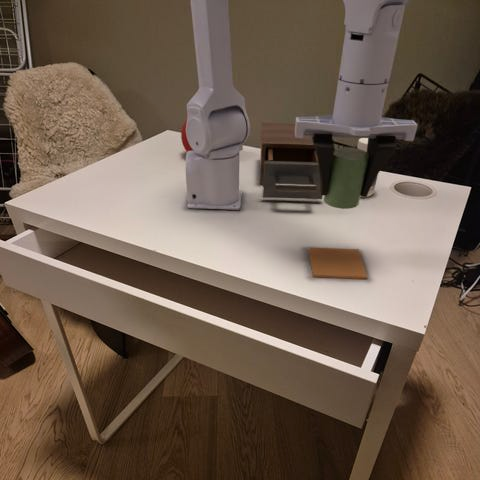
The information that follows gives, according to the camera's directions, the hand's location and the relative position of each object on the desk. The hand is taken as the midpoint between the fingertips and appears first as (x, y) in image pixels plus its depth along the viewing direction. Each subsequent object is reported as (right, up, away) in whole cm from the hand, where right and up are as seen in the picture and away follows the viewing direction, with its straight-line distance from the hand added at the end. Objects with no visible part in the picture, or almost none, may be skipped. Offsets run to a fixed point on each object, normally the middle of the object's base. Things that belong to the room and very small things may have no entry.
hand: (342, 193), depth 57 cm
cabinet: (-4, +14, +32) cm, 35 cm away
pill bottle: (+9, +8, +25) cm, 28 cm away
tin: (0, -1, +1) cm, 1 cm away
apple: (-23, +20, +39) cm, 50 cm away
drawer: (-4, +8, +23) cm, 25 cm away
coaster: (0, -9, +5) cm, 10 cm away
